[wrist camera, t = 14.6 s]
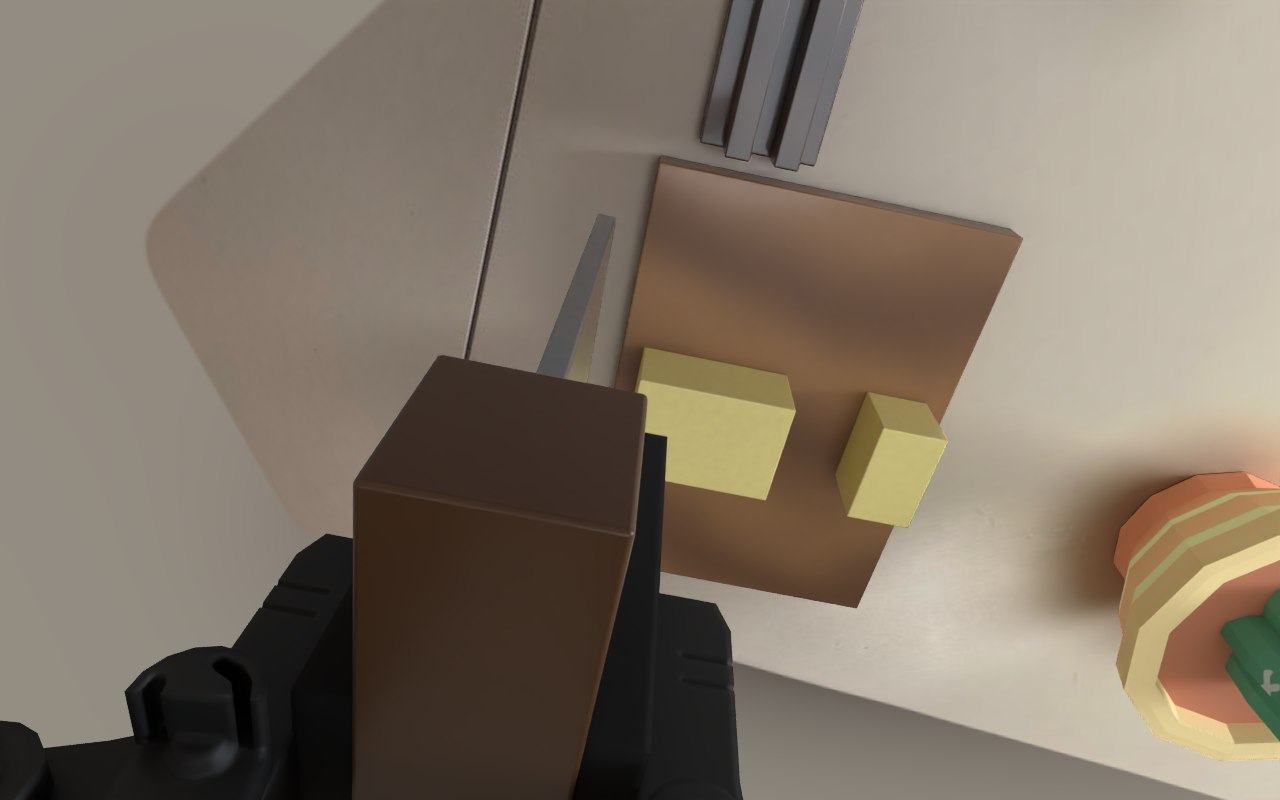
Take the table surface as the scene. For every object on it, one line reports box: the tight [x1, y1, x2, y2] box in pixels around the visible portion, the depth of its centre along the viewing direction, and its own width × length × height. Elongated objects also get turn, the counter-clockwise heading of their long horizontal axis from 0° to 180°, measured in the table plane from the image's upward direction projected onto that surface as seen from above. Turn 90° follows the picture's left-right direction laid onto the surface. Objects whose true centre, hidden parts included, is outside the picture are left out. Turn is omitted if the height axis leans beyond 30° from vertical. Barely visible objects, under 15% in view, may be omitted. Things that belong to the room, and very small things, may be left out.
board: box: [615, 156, 1023, 608], centre depth 38 cm, size 22×16×2 cm
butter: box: [635, 347, 796, 500], centre depth 36 cm, size 5×7×4 cm
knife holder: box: [700, 0, 864, 172], centre depth 29 cm, size 10×5×3 cm, turn 169°
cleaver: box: [352, 214, 648, 800], centre depth 13 cm, size 9×2×11 cm, turn 169°
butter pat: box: [835, 392, 948, 528], centre depth 36 cm, size 5×3×4 cm, turn 169°
